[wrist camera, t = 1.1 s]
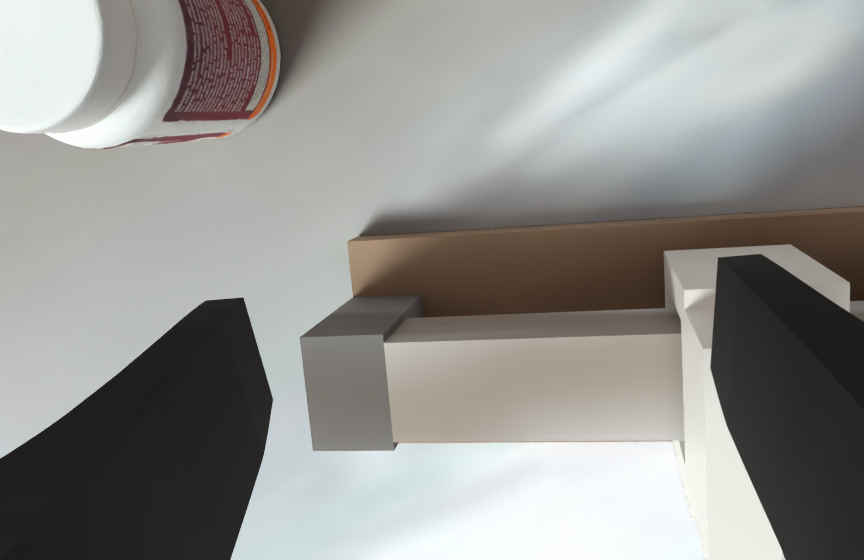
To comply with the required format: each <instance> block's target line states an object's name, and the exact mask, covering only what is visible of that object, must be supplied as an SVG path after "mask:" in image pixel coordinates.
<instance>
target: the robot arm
mask: <svg viewBox="0 0 864 560" xmlns="http://www.w3.org/2000/svg"><path fill="white" fill-rule="evenodd" d="M710 369H711V372H712V376H713V380H714V384H715V387H716V391H717V395H718V398H719V402H720V405H721V408H722V412H723V415H724V418H725V422H726V425H727V427H728V430H729V432H730V434H731V437H732V439H733V441H734V444H735V446H736V448H737V450H738V453H739V455H740V457H741V460H742V462H743V464H744V466H745V469H746V471H747V473H748V475H749V478H750V480H751V482H752V484H753V487H754V489H755V491H756V493H757V495H758V498H759V500H760V502H761V504H762V507H763V509H764V511H765V513H766V516H767V518H768V520H769V522H770V525H771V527H772V529H773V531H774V533H775V536H776V538H777V540H778V542H779V545H780V547H781V549H782V552H783V554H784V557H785V559H786V560H864V321H862V320H861V319H859V318H857V317H856V316H854V315H853V314H851V313H850V312H848V311H846V310H845V309H843V308H842V307H840V306H839V305H837V304H836V303H834V302H833V301H831V300H830V299H828V298H827V297H825V296H824V295H822V294H821V293H819V292H818V291H816V290H815V289H813V288H812V287H810V286H809V285H807V284H806V283H805V282H803V281H802V280H800V279H799V278H797V277H796V276H794V275H793V274H791V273H790V272H788V271H787V270H785V269H784V268H782V267H781V266H779V265H778V264H776V263H775V262H773V261H772V260H770V259H769V258H767V257H765V256H764V255H762V254H753V255H741V256H730V257H718V263H717V278H716V292H715V307H714V321H713V336H712V350H711V365H710ZM272 402H273V398H272V395H271V391H270V388H269V384H268V381H267V377H266V374H265V371H264V367H263V364H262V360H261V357H260V353H259V350H258V346H257V343H256V340H255V336H254V333H253V329H252V326H251V322H250V319H249V315H248V312H247V309H246V305H245V302H244V298H233V299H221V300H209V301H205V302H203V303H202V304H201V305H199V306H198V307H196V308H195V309H194V310H193V311H191V312H190V313H189V314H188V315H186V316H185V317H184V318H183V319H182V320H180V321H179V322H178V323H177V324H176V325H175V326H173V327H172V328H171V329H170V330H169V331H168V332H166V333H165V334H164V335H163V336H162V337H161V338H160V339H158V340H157V341H156V342H155V343H154V344H153V345H151V346H150V347H149V348H148V349H147V350H146V351H144V352H143V353H142V354H141V355H140V356H138V357H137V358H136V359H135V360H134V361H133V362H131V363H130V364H129V365H128V366H127V367H126V368H124V369H123V370H122V371H121V372H120V373H118V374H117V375H116V376H115V377H113V378H112V379H111V380H110V381H108V382H107V383H106V384H104V385H103V386H102V387H101V388H99V389H98V390H97V391H96V392H94V393H93V394H92V395H90V396H89V397H88V398H87V399H85V400H84V401H83V402H81V403H80V404H79V405H78V406H76V407H75V408H74V409H73V410H71V411H70V412H69V413H67V414H66V415H65V416H63V417H62V418H61V419H59V420H58V421H56V422H55V423H54V424H52V425H51V426H49V427H48V428H46V429H45V430H44V431H42V432H41V433H39V434H38V435H36V436H35V437H33V438H32V439H30V440H29V441H27V442H26V443H24V444H22V445H21V446H19V447H18V448H16V449H15V450H13V451H12V452H10V453H9V454H7V455H6V456H4V457H2V458H1V459H0V560H230V559H231V556H232V553H233V550H234V547H235V544H236V540H237V537H238V534H239V531H240V528H241V525H242V522H243V519H244V516H245V513H246V510H247V507H248V504H249V500H250V497H251V494H252V491H253V488H254V485H255V481H256V478H257V475H258V472H259V469H260V465H261V462H262V459H263V455H264V450H265V445H266V439H267V434H268V428H269V422H270V415H271V408H272Z"/></svg>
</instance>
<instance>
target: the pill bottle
mask: <svg viewBox="0 0 864 560" xmlns="http://www.w3.org/2000/svg"><path fill="white" fill-rule="evenodd" d="M280 60H281V53H280V47H279V40H278V36H277V33H276V29H275V26H274V24H273V22H272V20H271V17H270V15H269V13H268V12H267V10H266V8H265V7H264V5H263V4H262V2H261V1H260V0H0V129H1V130H5V131H9V132H15V133H45V134H47V135H48V136H50V137H52V138H54V139H57V140H59V141H61V142H64V143H67V144H71V145H74V146H78V147H82V148H89V149H109V148H114V147H125V146H136V145H150V144H167V143H175V142H190V141H203V140H213V139H219V138H224V137H227V136H230V135H233V134H235V133H237V132H239V131H241V130H243V129H244V128H246V127H247V126H249V125H250V124H252V123H253V122H254V121H255V120H256V119H257V118H258V117H259V116H260V115H261V114H262V113H263V111H264V110H265V109H266V107H267V106H268V104H269V102H270V100H271V98H272V96H273V94H274V91H275V89H276V86H277V82H278V78H279V72H280Z"/></svg>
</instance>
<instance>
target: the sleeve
mask: <svg viewBox="0 0 864 560" xmlns="http://www.w3.org/2000/svg"><path fill="white" fill-rule="evenodd" d="M753 254H762V255H764V256H765V257H767V258H769V259H770V260H772V261H773V262H775V263H776V264H778V265H779V266H781V267H782V268H784V269H785V270H787V271H788V272H790V273H791V274H793V275H794V276H796V277H797V278H799V279H800V280H802V281H803V282H805V283H806V284H807V285H809V286H810V287H812V288H813V289H815V290H816V291H818V292H819V293H821V294H822V295H824V296H825V297H827V298H828V299H830V300H831V301H833V302H834V303H836V304H837V305H839V306H840V307H842V308H843V309H845V310H846V311H848V312H850V283H849V282H848V281H846V280H845V279H843V278H842V277H840V276H839V275H837V274H836V273H834V272H832V271H831V270H829V269H828V268H826V267H825V266H823V265H822V264H820V263H819V262H817V261H815V260H814V259H812V258H811V257H809V256H808V255H806V254H805V253H803V252H802V251H800V250H798V249H797V248H795V247H794V246H792V245H791V244H788V245H769V246H750V247H731V248H711V249H692V250H673V251H664V279H665V308H676V310H677V312H678V314H679V317H680V319H681V339H682V372H683V406H684V439H685V440H672V443H673V447H674V452H675V456H676V460H677V464H678V468H679V472H680V476H681V480H682V484H683V488H684V493H685V497H686V501H687V505H688V509H689V513H690V517H691V518H695V521H696V525H697V529H698V533H699V537H700V541H701V545H702V549H703V553H704V557H705V560H783V552H782V549H781V547H780V545H779V542H778V540H777V538H776V536H775V533H774V531H773V529H772V527H771V525H770V522H769V520H768V518H767V516H766V513H765V511H764V509H763V507H762V504H761V502H760V500H759V498H758V495H757V493H756V491H755V489H754V487H753V484H752V482H751V480H750V478H749V475H748V473H747V471H746V469H745V466H744V464H743V462H742V460H741V457H740V455H739V453H738V450H737V448H736V446H735V444H734V441H733V439H732V437H731V434H730V432H729V430H728V427H727V425H726V422H725V418H724V415H723V412H722V408H721V405H720V402H719V398H718V395H717V391H716V387H715V384H714V380H713V376H712V372H711V369H710V365H711V350H712V336H713V321H714V307H715V292H716V278H717V263H718V257H730V256H741V255H753Z"/></svg>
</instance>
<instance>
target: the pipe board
mask: <svg viewBox="0 0 864 560" xmlns="http://www.w3.org/2000/svg"><path fill="white" fill-rule="evenodd" d="M788 244H791V245H792V246H794V247H795V248H797V249H798V250H800V251H802V252H803V253H805V254H806V255H808V256H809V257H811V258H812V259H814V260H815V261H817V262H819V263H820V264H822V265H823V266H825V267H826V268H828V269H829V270H831V271H832V272H834V273H836V274H837V275H839V276H840V277H842V278H843V279H845V280H846V281H848V282H849V283H850V313H851V314H853V315H854V316H856V317H857V318H859V319H861V320H862V321H864V206H862V207H845V208H829V209H812V210H795V211H779V212H762V213H745V214H728V215H712V216H695V217H678V218H661V219H645V220H628V221H611V222H594V223H578V224H561V225H544V226H527V227H511V228H494V229H477V230H461V231H444V232H427V233H410V234H394V235H377V236H360V237H356V238H354V239H352V240H350V241H348V251H349V261H350V271H351V280H352V290H353V298H352V299H350V300H349V301H348V302H346V303H345V304H344V305H342V306H341V307H340V308H338V309H337V310H336V311H334V312H333V313H332V314H330V315H329V316H328V317H326V318H325V319H324V320H322V321H321V322H320V323H318V324H317V325H316V326H314V327H313V328H312V329H310V330H309V331H308V332H306V333H305V334H304V335H302V336H301V337H300V343H301V351H302V360H303V369H304V377H305V386H306V394H307V403H308V411H309V420H310V429H311V437H312V446H313V451H377V450H395V448H396V446H397V445H398V443H471V442H625V441H672V440H685V439H684V406H683V372H682V339H681V319H680V317H679V314H678V312H677V310H676V308H665V279H664V251H673V250H692V249H711V248H731V247H750V246H769V245H788Z"/></svg>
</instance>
